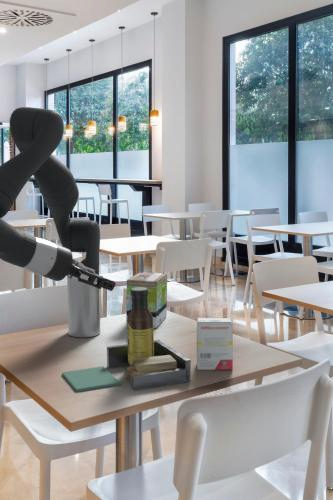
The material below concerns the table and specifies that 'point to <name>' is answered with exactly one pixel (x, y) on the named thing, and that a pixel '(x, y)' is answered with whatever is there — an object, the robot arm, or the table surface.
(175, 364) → the offcut stack
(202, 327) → the ink box
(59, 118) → the robot arm
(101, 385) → the green rubber mat
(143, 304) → the sauce bottle
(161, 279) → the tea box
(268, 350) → the table surface
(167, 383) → the grey three-sided tray
